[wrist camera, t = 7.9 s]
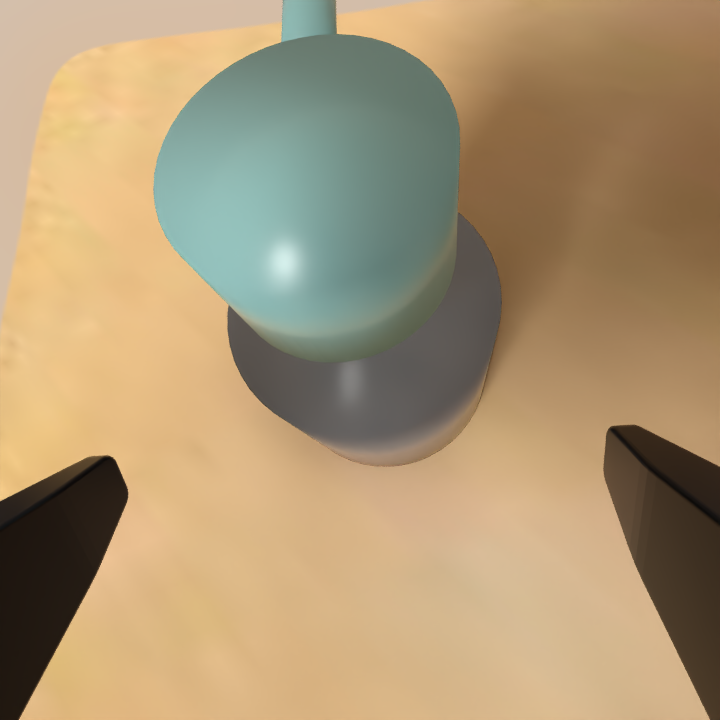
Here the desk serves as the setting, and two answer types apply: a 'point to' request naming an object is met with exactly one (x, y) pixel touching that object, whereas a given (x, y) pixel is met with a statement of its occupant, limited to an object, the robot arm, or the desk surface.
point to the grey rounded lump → (389, 373)
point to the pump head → (318, 189)
